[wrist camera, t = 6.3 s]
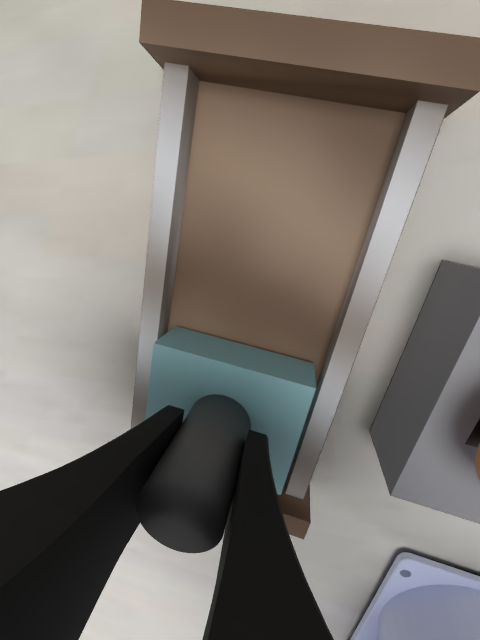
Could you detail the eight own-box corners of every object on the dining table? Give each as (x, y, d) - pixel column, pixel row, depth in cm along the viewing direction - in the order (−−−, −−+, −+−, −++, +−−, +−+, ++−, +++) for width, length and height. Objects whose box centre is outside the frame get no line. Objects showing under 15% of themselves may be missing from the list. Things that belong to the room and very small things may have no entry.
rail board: (303, 482, 15) (304, 539, 13) (142, 430, 16) (110, 472, 14) (443, 93, 10) (500, 40, 7) (184, 56, 11) (142, -4, 8)
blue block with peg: (283, 458, 14) (270, 619, 8) (162, 420, 14) (73, 543, 9) (314, 363, 12) (323, 482, 6) (175, 326, 13) (75, 403, 7)
